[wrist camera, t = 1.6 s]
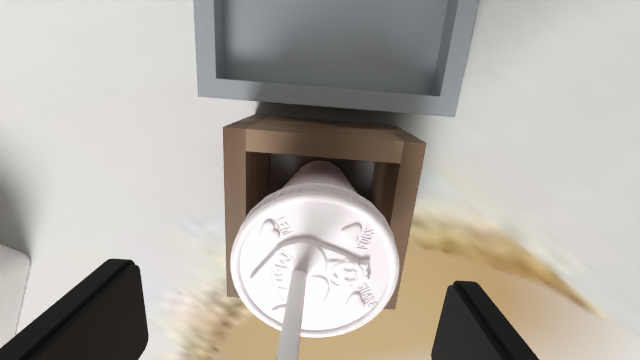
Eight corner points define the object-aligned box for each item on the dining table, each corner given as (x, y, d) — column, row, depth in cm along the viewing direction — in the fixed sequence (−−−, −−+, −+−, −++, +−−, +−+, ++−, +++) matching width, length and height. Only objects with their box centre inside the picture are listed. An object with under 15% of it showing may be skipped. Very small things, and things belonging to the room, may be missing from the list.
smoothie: (267, 144, 19) (132, 275, 6) (365, 136, 19) (457, 255, 6) (279, 232, 21) (199, 480, 8) (368, 226, 21) (443, 473, 8)
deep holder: (395, 125, 19) (426, 143, 13) (376, 249, 21) (395, 309, 16) (254, 114, 19) (222, 127, 13) (253, 240, 21) (227, 296, 16)
